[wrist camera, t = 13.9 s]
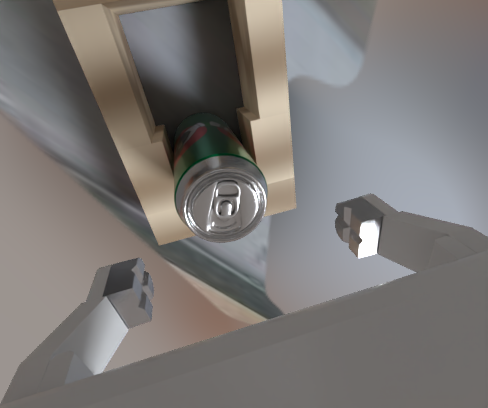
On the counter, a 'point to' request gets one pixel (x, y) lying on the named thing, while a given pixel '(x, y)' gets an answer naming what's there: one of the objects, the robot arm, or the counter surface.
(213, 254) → the counter surface
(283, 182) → the keyhole board
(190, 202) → the soda can
